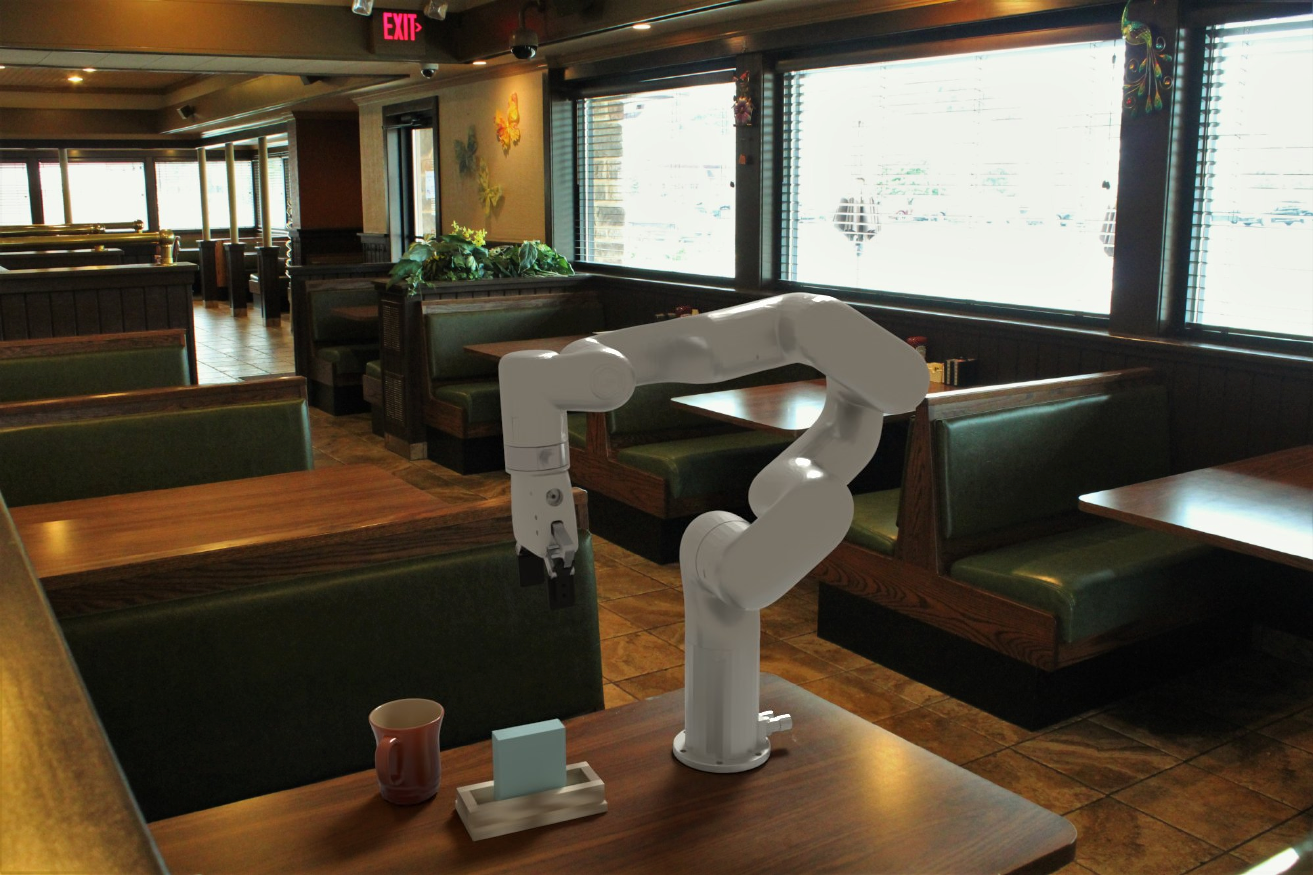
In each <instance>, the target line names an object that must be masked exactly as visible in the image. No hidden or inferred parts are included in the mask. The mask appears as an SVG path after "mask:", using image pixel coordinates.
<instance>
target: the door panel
mask: <svg viewBox="0 0 1313 875" xmlns="http://www.w3.org/2000/svg"><path fill="white" fill-rule="evenodd" d="M566 739H567V738H566V726H565V725H564V724H563V723H562V722H561V720H560V719H558V718H555V719H550V720H544V721H540V722H535V723H534V722H533V723H529V724H523V725H518V726H512V727H507V728H503V729H498V730H497V729H496V730H492V731H491V741H492V742H491V745H492V747H491V748H492V765H493V766H492V769H493V770H492V772H493V780H494V802H497V801H502V800H506V799H511V798H516V797H520V796H525V795H530V794H534V793H539V792H544V791H549V790H553V789H558V788H563V787H567V781H566V765H567V746H566V744H567V743H566V741H567V740H566Z"/></svg>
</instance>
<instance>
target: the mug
mask: <svg viewBox="0 0 1313 875" xmlns="http://www.w3.org/2000/svg"><path fill="white" fill-rule="evenodd" d="M444 715H445V709H444V707H443V706H442V705H441V704H440V703H438V702H436V701H434V700H431V699H427V698H425V699H424V698H405V699H404V698H403V699H397V700H393V701H389V702H386V703H383V704H381V705H379V706H377V707H376V708H374V709H373V710H371V712H370V713H369V715H368V721H369V725H370V726H371V730H372V731H373V735H374V738H375V740H376V741H375V742H376V750H375V753H374V762H375V763H374V765H375V767H374V768H375V772H376V778H377V783H378V785H379V790H380V795H381V796H382V797H383V799H385V800H386V801H387V802H389V803H391V804H395V805H402V806H409V805H410V806H411V805H416V804H417V805H418V804H420V803H422V802H423V803H424V802H425V801H427V800H429V799H430V798H432V797H433V796H434V795H436V794H437V793H438V791H439V790H440V786H441V785H440V784H441V780H442V778H441V776H442V767H441V766H442V765H441V762H442V761H441V752H440V730H441V726H442V722H443V718H444Z"/></svg>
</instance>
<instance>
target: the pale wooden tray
mask: <svg viewBox="0 0 1313 875" xmlns="http://www.w3.org/2000/svg"><path fill="white" fill-rule="evenodd" d="M566 781H567V787H563V788H558V789H553V790H549V791H544V792H539V793H534V794H530V795H525V796H520V797H516V798H511V799H506V800H502V801H497V802H494V779H493V780H489V781H484V782H479V783H474V784H469V785H465V786H459V787H456V800H454V801H455V802H454V803H455V804H454V805H455V809H456V811H457V814H458V815H459V818H460V819H461V821H462V823H463V825H464V827H465V828H466V830H467V832H468V834H469V836H470V838H471V840H472V841H473V842H477V841H481V840H485V839H490V838H494V837H499V836H503V835H508V834H514V833H517V832H521V831H525V830H531V829H534V828H539V827H543V826H548V825H552V824H557V823H562V822H565V821H569V820H574V819H579V818H583V817H587V816H592V815H597V814H601V813H606V812H608V810H609V809H608V807H609V806H608V805H609V804H608V802H607V801H606V798H605V796H606V795H605V794H606V793H605V783H604V781H603V780H602V779H601V778H600V777H599V775H598V774H597V773H596V772H595V771H594V769H593V768H592V767H591V766H590V764H589V763H588V762H587V761H581V762H577V763H571V764H566Z"/></svg>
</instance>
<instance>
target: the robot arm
mask: <svg viewBox="0 0 1313 875" xmlns="http://www.w3.org/2000/svg"><path fill="white" fill-rule="evenodd" d="M796 363H799V364H803V365H806V366H809V367H812V368H814V369H816V370H817V371H819V372H821V374H823V375H825V378H826V379H825V380H826V395H825V402H824V405H823V407H822V409H821V410H822V411H821V413H820V414H819V416H818V418H817V419H816V420H815V421H814V422H813V423H812V424H811V426H810V427H808V429H807V430H806V431H805V432H804V433H803V434H802V435H801V436H800V437H798V438H797V439H796V440H795V441H793V443H791V444H790V445H789V446H788V447H787V448H785V450H783V451H782V452H781V453H780V454H779V455H778V456H777V457H775V458H774V459H773V460H772V461H771V462H770V463H769V464H767V465H766V466H765V467H764V468H763V469H761V471H760V472H759V473H757V475H756V476H755V477H754V478H753V480H752V482H751V484H750V487H749V489H748V504H749V506H750V509H751V511H752V512H753V514H754V515H755V517H757V518H756V519H755V520H754V521H753V522H752V523H750V522H749V521H747V520H746V519H744V518H742V517H741V516H738V515H737V514H734V513H733V512H728V511H724V510H714V511H713V510H712V511H708V512H705V513H702V514H700V515H698V516H697V517H696V518H694V519H693V520H692V521H691V522H690V523H689V524H688V526H687V527H686V528H685V531H684V533H683V534H682V537H681V541H680V546H679V564H680V566H679V567H680V574H681V582H682V590H683V591H682V592H683V599H684V600H683V601H684V729H683V730H681V731H680V732H679V733H678V734H677V735H675V737H674V739H673V743H672V750H673V751H672V752H673V754H674V757H676V759H677V760H679V761H680V762H681V763H682V764H683V765H686V766H688V767H690V768H693V769H696V770H698V771H703V772H707V773H708V772H709V773H718V774H730V773H739V772H745V771H747V770H751V769H754V768H756V767H759V766H761V765H763V764H764V763H765V762H766V761H767V760H768V759H769V757H770V755H771V746H772V745H771V742H770V740H769V738H768V737H769V736H771V735H772V734H773V733H774V732H782V731H787V730H790V729H792V728H793V719H792V717H791V715H790V714H787V713H786V714H782V715H777V716H775V714H774V713H773V712H774V711H772V710H766V711H762V712H760V658H761V657H760V655H761V654H760V653H761V652H760V648H761V646H760V643H761V642H760V641H761V618H760V617H761V614H760V612H761V611H760V610H761V609H764V608H766V607H768V606H770V605H771V604H773V603H775V602H776V601H778V600H779V599H780V598H781V597H783V596H785V594H786V593H787V592H788V591H790V590H791V589H792V588H794V586H795V585H797V583H798V582H800V581H801V580H802V579H803V578H805V576H807V575H808V574H809V573H810V572H811V571H812V570H813V569H814V568H815V567H817V566H818V565H819V564H820V563H821V562H822V561H823V560H824V559H825V558H826V557H827V556H829V555H830V554H831V552H833V550H835V549H836V548H837V547H838V545H840V543H841V542H842V541H843V540H844V538H845V536H846V535H847V533H848V531H849V529H850V527H851V525H852V522H853V518H854V513H855V511H854V510H855V505H854V503H855V502H854V500H853V499H854V498H853V496H852V493H851V491H850V489H849V487H848V486H847V485H849V484H850V482H852V481H853V480H854V479H855V478H856V477H857V476H858V475H859V473H861V472H862V471H863V469H864V468H866V466H867V465H868V464H869V462H870V461H871V460H872V458H873V457H874V455H875V454H876V452H877V448H878V447H879V443H880V440H881V435H882V429H883V424H884V414H887V415H901V414H905V413H908V412H911V411H912V410H913V409H915V408H917V407H918V406H919V405H920V404H921V403H922V402H923V401H924V400H925V398H926V397H927V394H928V392H929V390H930V384H931V375H930V370H929V367H928V364H927V362H926V360H925V358H924V357H923V356H922V354H921V353H920V352H919V351H918V350H917V349H915V347H913V346H912V345H910V344H908V343H907V342H905V341H904V340H903V339H901V338H900V337H898V336H896V335H895V334H894V333H892V332H890V331H888V329H885V328H884V327H882V326H881V325H879V324H878V323H877V322H875V321H873V320H872V319H870V318H869V317H867V316H865V315H864V314H862V313H861V312H859V310H856V309H855V308H853V307H852V306H851V305H849V304H848V303H845V302H844V301H841V300H840V299H837V298H835V297H832V296H829V295H823V294H815V293H809V292H791V293H784V294H780V295H775V296H771V297H767V298H766V297H765V298H762V299H759V300H753V301H750V302H747V303H743V304H738V305H734V306H730V307H725V308H722V309H721V308H719V309H717V310H713V311H708V312H703V313H697V314H693V315H687V316H681V317H677V318H673V319H668V320H664V321H658V322H654V323H647V324H641V325H636V326H631V327H626V328H621V329H616V330H613V331H608V332H604V333H599V334H596V335H591V336H588V337H584V338H579V339H578V340H575V341H573V342H571V343H569V344H567V345H566V346H565V347H564V348H563V349H562V350H561V351H560V352H559V353H558V352H557V351H553V350H549V349H526V350H518V351H517V350H516V351H512V352H509V353H507V354H504V355H503V356H502V357H501V358H500V359H499V362H498V381H499V382H498V383H499V384H498V385H499V395H500V409H501V411H500V412H501V422H502V434H503V435H502V436H503V437H502V438H503V449H504V462H505V463H504V464H505V467H504V468H505V472H506V473H508V474H509V475H510V497H511V498H510V499H511V503H510V504H511V507H510V508H511V519H512V522H511V523H512V529H513V536H514V538H515V540H516V545H515V551H516V554H517V556H516V562H517V574H518V575H517V576H518V586H520V587H521V588H526V587H527V588H528V587H533V586H537V585H542V584H544V582H545V581H546V582H545V583H546V593H547V594H546V597H547V607H548V610H550V611H557V610H561V609H567V608H571V607H572V608H573V607H574V606H575V605H576V595H575V578H574V577H575V576H574V574H575V567H574V566H575V564H576V560H575V553H576V552H577V551H578V548H579V539H578V538H579V537H578V526H577V516H576V509H575V502H574V501H575V500H574V493H573V487H572V483H571V477H570V474H569V469H570V468H571V462H570V445H569V444H570V443H569V441H570V440H569V428H568V427H569V425H568V413H567V411H568V412H569V411H570V412H590V413H591V412H592V413H602V412H610V411H613V410H616V409H618V408H620V407H622V406H623V405H625V404H626V403H627V402H628V401H629V400H630V398H631V397H632V396H633V394H634V391H635V388H636V387H638V386H644V385H651V384H658V383H659V384H660V383H682V384H683V383H684V384H695V385H699V384H714V383H721V382H725V381H728V380H733V379H736V378H740V377H743V376H746V375H751V374H755V373H758V372H762V371H767V370H772V369H776V368H781V367H784V366H788V365H791V364H796ZM556 548H557V549H556ZM555 558H557V559H556V562H555V563H554V560H553V559H555ZM544 563H545V565H544ZM544 566H546V569H547V573H548V576H545V567H544Z"/></svg>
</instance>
